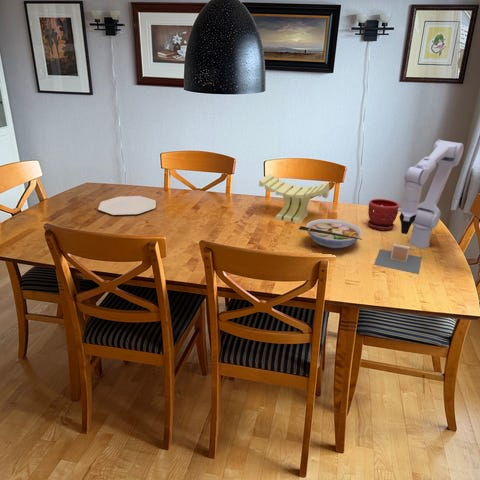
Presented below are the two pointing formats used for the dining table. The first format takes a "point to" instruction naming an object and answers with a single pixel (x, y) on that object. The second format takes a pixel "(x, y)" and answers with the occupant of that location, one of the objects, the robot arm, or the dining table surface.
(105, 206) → the plate
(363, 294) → the dining table surface
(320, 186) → the slatted curved stool
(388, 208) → the plant pot
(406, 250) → the tile
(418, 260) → the mat
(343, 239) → the ramen bowl
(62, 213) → the dining table surface
